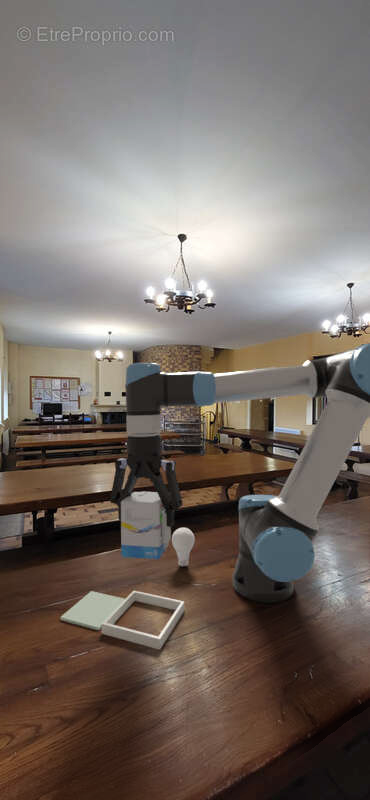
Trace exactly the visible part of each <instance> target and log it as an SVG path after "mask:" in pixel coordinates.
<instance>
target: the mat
mask: <svg viewBox="0 0 370 800" xmlns="http://www.w3.org/2000/svg"><path fill="white" fill-rule="evenodd" d="M125 599H126V598H123V597H119V596H114V595H110V594H105V593H101V592H97V591H93V590H91V591H89V593H87V594H86V595H85V596H83V598H81V599H80V600H79V601H78V602H77V603H75V604H74V605H73V606H72V607H71V608H69V609H68V610H67V611H66V612H65V613H63V614H62V615H61V616H60V617H59V618H60V621H62V622H63V621H64V622H67V623H69V624H73V625H77V626H82V627H84V628H89V629H92V630H96V631H100V630H102V623H103V622H104V621H105V620H106V619H107V618H108V617H109V616H110V615H111V614H112V613H113V612H114V610H115V609H116V608H117V607H118V606H119V605H120V604H121V603H122V602H123V601H124V600H125Z"/></svg>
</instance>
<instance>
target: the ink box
mask: <svg viewBox="0 0 370 800" xmlns="http://www.w3.org/2000/svg"><path fill="white" fill-rule="evenodd" d="M164 510H165V508H164V506H163V504H162V501H161V499H160V497H159V495H158V493H157V491H156V492H155V491H134V492H133V491H132V493H131V495H129V496H128V497H127V498H125V499H124V500H122V501H121V521H120V536H121V537H120V540H121V541H120V546H121V547H120V548H121V551H120V552H121V554H120V555H121V557H122V558H130V559H131V558H134V559H148V560H160V559H161V557H162V556H163V554H164V553H165V551H166V550H167V548H168V546H169V545H170V540H169V541H168V542H167V543H166V544H164V543H162V512H163V511H164Z"/></svg>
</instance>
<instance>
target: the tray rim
mask: <svg viewBox="0 0 370 800" xmlns="http://www.w3.org/2000/svg"><path fill="white" fill-rule="evenodd" d="M124 599H125V600H124V601H123V602H122V603H121V604H120V605H119V606H118V607H117V608H116V609H115V610H114V612H113V613H112V614H111V615H110V616H109V617H108V618H107V619H106V620H105V621H104V622H103V623H102V628H101V634H102V635H105V636H108V637H113V638H115V639H120V640H124V641H127V642H131V643H134V644H138V645H141V646H142V645H143V646H146V647H149V648H152V649H156V650H161V649H162V647H164V646H163V645H164V644H165V642H167V641H166V640H168V638H169V636H170V635H171V633H172V631H174V628H175V626H176V624H177V623H178V622H179V620H180V619H181V617H182V615H183V614H184V612H185V611H186V609H185V603H186V602H185V601H183V600H180V599H179V600H178V599H175V598H171V597H170V598H169V597H166V596H161V595H157V594H156V595H155V594H152V593H147V592H143V591H138V590H133V591H132V592H131V593H130V594H129V595H127V597H126V598H124ZM134 602H138V603H143V604H147V605H152V606H157V607H161V608H166V609H168V610H169V609H170V610H174V612H173V614H172V616H171V617H169V618H170V619H169V620H168V621H167V623H166V624H165V625H164V628H163V629H162V630H161V632H160V634H159V635H153V634H150V633H147V632H142V631H138V630H135V629H133V628H132V629H130V628H127V627H124V626H119V625H116V622H117V621H118V620H119V618H120V617H121V616H122V615H124V613H125V612H126V611H127V610H128V609H129V608H130V606H132V604H133V603H134Z"/></svg>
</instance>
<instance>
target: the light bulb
mask: <svg viewBox="0 0 370 800" xmlns="http://www.w3.org/2000/svg"><path fill="white" fill-rule="evenodd" d="M195 539H196V538H195V536H194V533H193V532H192V531H191V529H189V528H188V527H179V528H177V529H176V530H174V532H173V534H172V535H171V545H172V547H173V548H174V549H175V552H176V555H177V558H178V560H177V561H178V562H177V564H178V566H180V567H187V566H188V565H189V557H190V552H191V550H192V549H193V547H194V545H195V542H196V540H195Z"/></svg>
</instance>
